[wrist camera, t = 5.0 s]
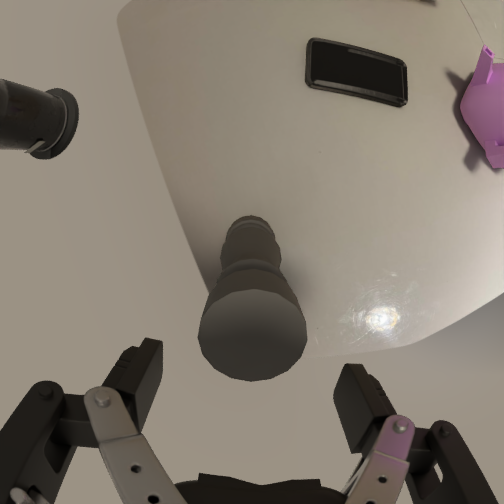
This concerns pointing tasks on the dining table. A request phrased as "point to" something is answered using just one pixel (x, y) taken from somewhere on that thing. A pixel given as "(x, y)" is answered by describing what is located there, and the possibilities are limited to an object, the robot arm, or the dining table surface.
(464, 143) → the dining table surface
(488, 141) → the teapot
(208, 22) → the dining table surface
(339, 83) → the phone
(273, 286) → the candle holder
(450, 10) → the dining table surface
